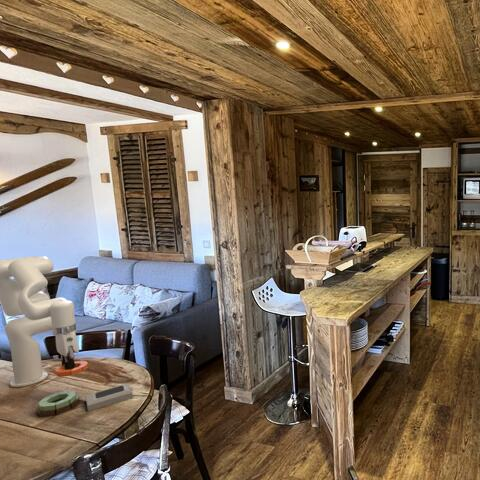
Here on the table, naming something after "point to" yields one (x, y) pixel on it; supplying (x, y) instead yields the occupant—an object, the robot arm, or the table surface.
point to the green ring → (68, 396)
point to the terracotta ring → (78, 368)
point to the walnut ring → (58, 411)
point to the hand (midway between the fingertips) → (68, 368)
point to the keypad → (108, 396)
